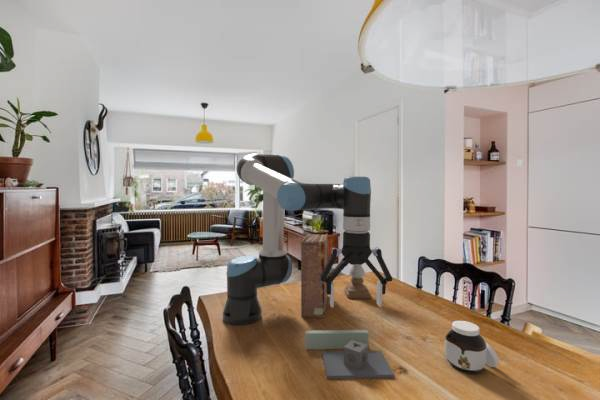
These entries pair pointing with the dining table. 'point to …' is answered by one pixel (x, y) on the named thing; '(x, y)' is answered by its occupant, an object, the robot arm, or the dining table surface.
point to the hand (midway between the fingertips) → (355, 305)
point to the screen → (334, 338)
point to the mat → (339, 370)
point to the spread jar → (468, 348)
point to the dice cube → (355, 354)
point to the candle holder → (357, 284)
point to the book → (313, 275)
